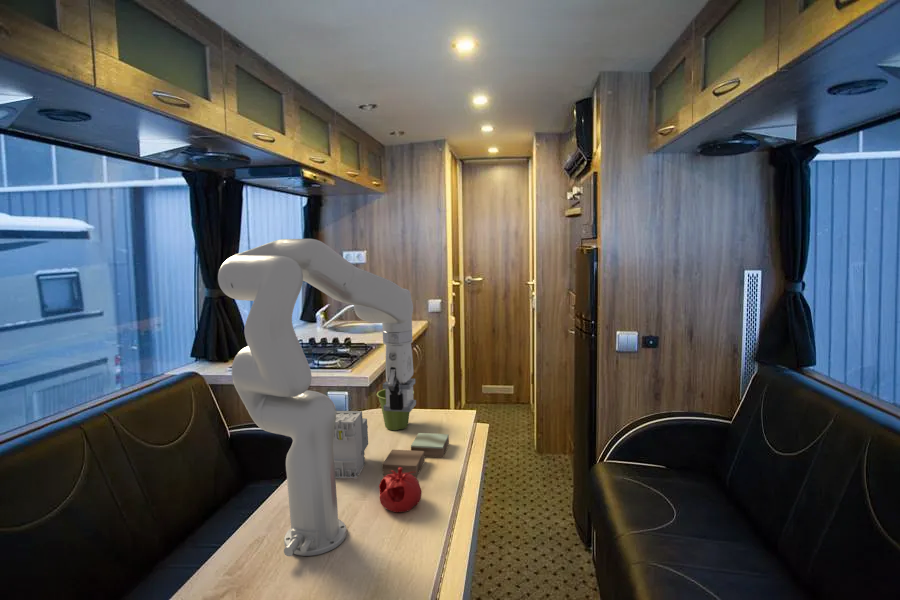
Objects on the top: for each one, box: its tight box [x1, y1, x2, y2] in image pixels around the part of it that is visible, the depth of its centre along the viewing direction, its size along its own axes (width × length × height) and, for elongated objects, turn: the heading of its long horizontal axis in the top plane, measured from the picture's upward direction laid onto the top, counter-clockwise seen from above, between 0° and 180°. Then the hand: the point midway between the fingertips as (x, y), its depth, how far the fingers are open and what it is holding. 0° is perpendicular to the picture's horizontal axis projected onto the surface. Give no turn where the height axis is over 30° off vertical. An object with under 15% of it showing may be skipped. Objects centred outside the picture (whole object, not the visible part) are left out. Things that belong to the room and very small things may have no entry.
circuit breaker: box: [333, 410, 369, 479], centre depth 143 cm, size 8×14×15 cm, turn 174°
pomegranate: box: [378, 467, 422, 513], centre depth 122 cm, size 10×10×9 cm
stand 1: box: [381, 449, 426, 478], centre depth 141 cm, size 9×9×3 cm
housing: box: [382, 377, 417, 413], centre depth 138 cm, size 6×7×7 cm
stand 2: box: [410, 432, 450, 458], centre depth 152 cm, size 9×9×3 cm
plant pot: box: [376, 388, 415, 431], centre depth 169 cm, size 12×12×11 cm
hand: (400, 404), depth 138 cm, fingers closed on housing, 6 cm apart
